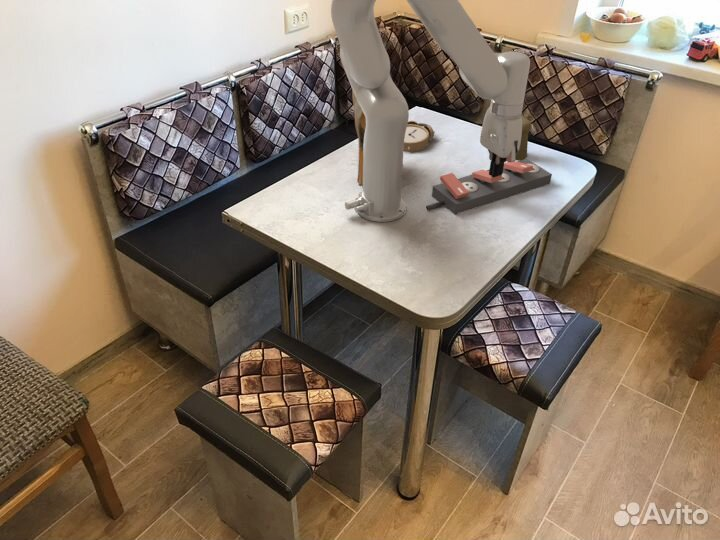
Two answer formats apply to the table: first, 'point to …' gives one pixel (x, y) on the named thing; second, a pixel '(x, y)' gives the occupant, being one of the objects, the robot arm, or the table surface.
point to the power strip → (490, 189)
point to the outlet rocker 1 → (454, 185)
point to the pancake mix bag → (359, 134)
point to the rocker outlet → (518, 167)
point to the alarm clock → (417, 136)
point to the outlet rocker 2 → (485, 176)
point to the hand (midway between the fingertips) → (495, 174)
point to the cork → (523, 140)
